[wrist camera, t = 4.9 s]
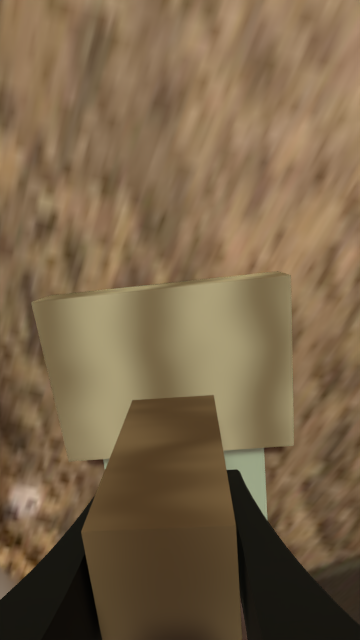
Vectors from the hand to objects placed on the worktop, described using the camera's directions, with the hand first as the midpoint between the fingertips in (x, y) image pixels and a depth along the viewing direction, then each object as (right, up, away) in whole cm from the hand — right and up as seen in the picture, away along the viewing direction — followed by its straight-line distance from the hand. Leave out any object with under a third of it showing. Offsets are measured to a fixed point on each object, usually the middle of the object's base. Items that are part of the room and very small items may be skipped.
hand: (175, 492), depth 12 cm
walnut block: (0, +1, +3) cm, 3 cm away
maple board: (0, +4, +9) cm, 9 cm away
